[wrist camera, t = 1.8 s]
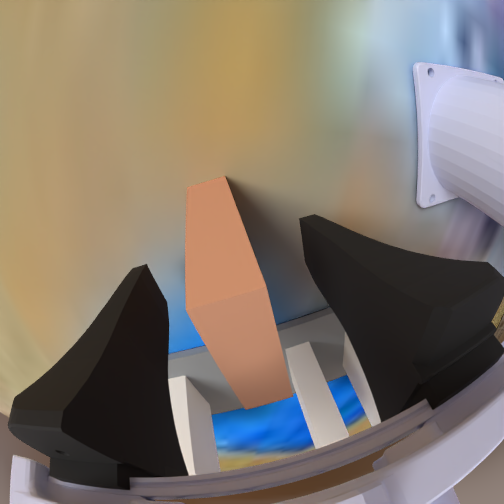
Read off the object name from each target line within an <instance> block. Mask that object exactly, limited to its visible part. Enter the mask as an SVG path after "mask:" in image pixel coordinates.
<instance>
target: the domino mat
mask: <svg viewBox="0 0 504 504" xmlns="http://www.w3.org/2000/svg"><path fill="white" fill-rule="evenodd" d="M276 327H277V331H278V336H279V340H280V344H281V348H282V352H283V356H284V360H285V364H286V368H287V372H288V377H289V381H290V385H291V389H292V393H293V394H294V393H296V391H295V388H294V385H293V382H292V377H291V373H290V368H289V364H288V360H287V355H286V351H285V349H287V348H290V347H293V346H296V345H299V344H302V343H305V342H308V341H309V343H310V345H311V348H312V350H313V352H314V355H315V357H316V359H317V361H318V364H319V366H320V368H321V371H322V373H323V375H324V378H325V380H326V382H329V381H331V380H334V379H337V378H339V377H342V376H344V375H347V373H346V371H345V369H344V367H343V355H344V341H345V330H344V328H343V326H342V324H341V323H340V321H339V320H338V318H337V316H336V315H335V313H334V312H333V310H332V308H331V307H330V308H327V309H324V310H321V311H318V312H316V313H313V314H310V315H307V316H304V317H301V318H298V319H295V320H292V321H288V322H285V323H282V324H279V325H276ZM180 376H186V377H187V378H188V380H189V381H190V382H191V383H192V384H193V386H194V387H195V388H196V389H197V390H198V392H199V393H200V394H201V395H202V396H203V397H204V399H205V400H206V401H207V402H208V403H209V404H210V409H211V415H213V414H218V413H222V412H227V411H232V410H236V409H240V408H244V406H243V405H242V403H241V402H240V400H239V399H238V397H237V396H236V394H235V393H234V391H233V390H232V388H231V386H230V385H229V383H228V382H227V380H226V378H225V377H224V375H223V374H222V372H221V370H220V369H219V367H218V365H217V364H216V362H215V360H214V359H213V357H212V355H211V354H210V352H209V350H208V349H207V347H206V345H205V346H201V347H197V348H193V349H188V350H184V351H180V352H176V353H171V354H168V379H170V378H175V377H180Z"/></svg>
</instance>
